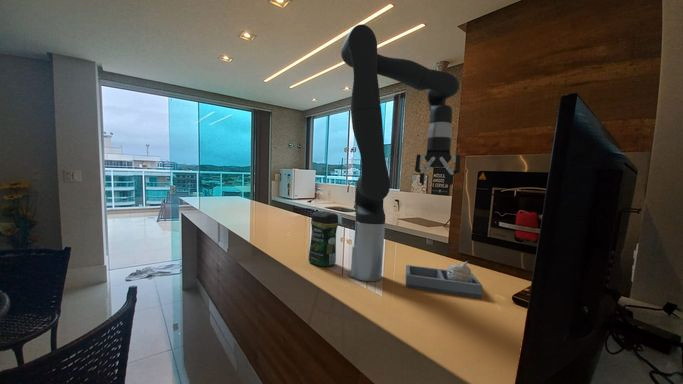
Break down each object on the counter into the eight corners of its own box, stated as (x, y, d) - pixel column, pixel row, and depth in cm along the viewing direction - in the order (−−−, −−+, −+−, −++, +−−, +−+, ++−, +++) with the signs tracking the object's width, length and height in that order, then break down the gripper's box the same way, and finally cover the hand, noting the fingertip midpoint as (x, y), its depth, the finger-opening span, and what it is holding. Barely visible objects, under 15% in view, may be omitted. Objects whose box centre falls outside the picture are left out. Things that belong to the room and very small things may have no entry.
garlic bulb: (447, 286, 76) (449, 259, 76) (444, 279, 82) (446, 254, 82) (472, 290, 74) (474, 262, 74) (467, 282, 80) (469, 256, 80)
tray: (405, 287, 76) (406, 275, 76) (405, 275, 87) (406, 264, 87) (481, 298, 72) (482, 285, 71) (471, 284, 82) (472, 273, 82)
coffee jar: (304, 262, 94) (307, 210, 94) (320, 258, 100) (323, 209, 100) (323, 269, 88) (326, 213, 87) (339, 264, 94) (342, 212, 93)
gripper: (416, 136, 89) (412, 184, 89) (462, 135, 83) (458, 186, 83) (418, 140, 95) (415, 184, 96) (462, 139, 90) (458, 187, 90)
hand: (435, 185), depth 90 cm, fingers open, 8 cm apart
